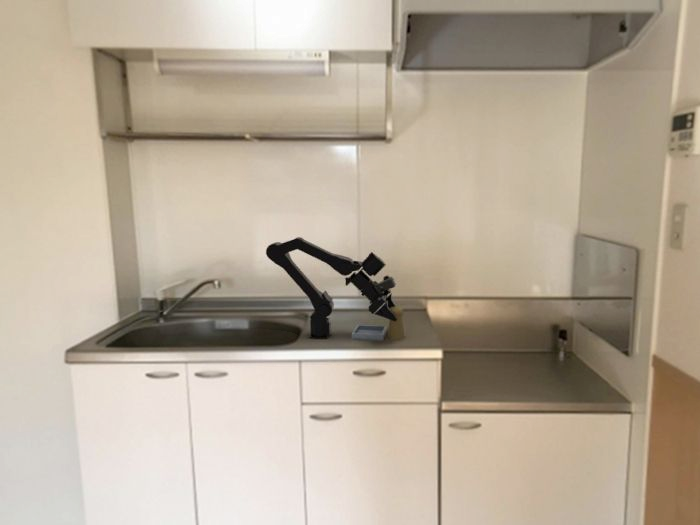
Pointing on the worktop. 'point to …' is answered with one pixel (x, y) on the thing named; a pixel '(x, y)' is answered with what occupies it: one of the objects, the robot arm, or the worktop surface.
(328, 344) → the worktop surface
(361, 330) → the tray
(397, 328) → the cork
